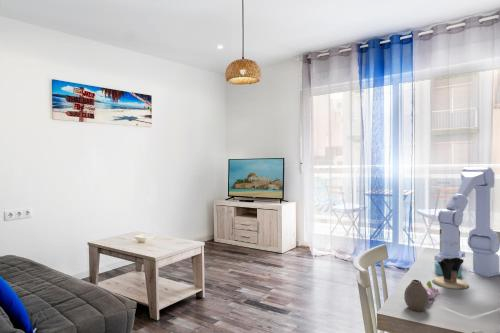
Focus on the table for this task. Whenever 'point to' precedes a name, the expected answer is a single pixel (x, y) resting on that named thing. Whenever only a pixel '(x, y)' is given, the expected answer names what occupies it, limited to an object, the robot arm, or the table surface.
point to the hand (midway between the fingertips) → (450, 278)
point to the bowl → (439, 271)
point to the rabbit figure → (431, 290)
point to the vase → (416, 296)
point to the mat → (450, 288)
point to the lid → (451, 281)
